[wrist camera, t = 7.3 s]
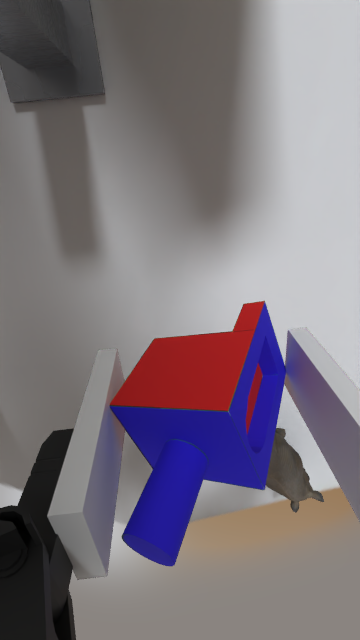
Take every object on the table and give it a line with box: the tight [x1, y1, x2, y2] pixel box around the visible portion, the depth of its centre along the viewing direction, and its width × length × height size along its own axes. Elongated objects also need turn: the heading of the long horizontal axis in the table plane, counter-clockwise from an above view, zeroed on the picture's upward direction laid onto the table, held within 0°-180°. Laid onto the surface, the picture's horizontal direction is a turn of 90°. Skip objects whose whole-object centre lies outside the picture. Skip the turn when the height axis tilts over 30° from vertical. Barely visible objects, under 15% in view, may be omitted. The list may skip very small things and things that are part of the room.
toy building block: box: [110, 301, 286, 566], centre depth 11 cm, size 4×4×8 cm
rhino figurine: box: [266, 428, 324, 512], centre depth 28 cm, size 4×14×6 cm, turn 39°
